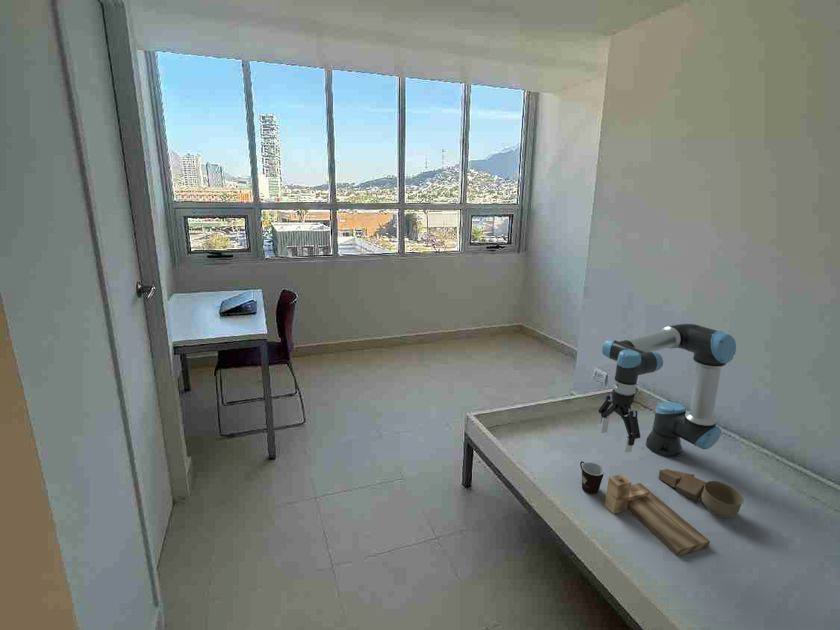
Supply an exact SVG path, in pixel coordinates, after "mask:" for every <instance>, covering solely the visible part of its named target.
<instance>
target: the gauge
mask: <svg viewBox="0 0 840 630" xmlns="http://www.w3.org/2000/svg"><path fill="white" fill-rule="evenodd" d="M631 485H632V481H630V480H629V479H628V478H627V477H626V476H625V475H623V474H622V473H621V474H616V475H612V476H609V477H608V482H607V488H606V494H605V501H604V506H605V508H607V509H608V510H609V511H610V512H611V513H612V514H620V513H623V512H626V511H628V510H627V505H628V501H629V500H633V499H637V498H641V497H645V496H649V492H648V491H647V490H646V489H644V490H640V491H636V492H632V493H630V488H631Z"/></svg>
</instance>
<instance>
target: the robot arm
mask: <svg viewBox="0 0 840 630" xmlns="http://www.w3.org/2000/svg"><path fill="white" fill-rule="evenodd" d="M665 349H670V350H671V349H681V350H684V351H687V352H690V353H692V354H693V357H692V360H693V361H694V362H695V364H696V365H695V372H694V373H695V374H694V380H693V385H692V392H691V398H690V399H691V400H690V408H689V410H687V407H686V406H685V405H684V404H681V403H679V402H673V401H662V402H659V403H658V404H657V406H656V408H655V413H654V418H653V419H654V420H653V425H652V429H651V431H650V432H649V434H648V436H647V437H646V440H645V445H646V447H647V448H648V449H649V450H650V451H651V452H652V453H655V454H657V455H660V456H662V457H666V458H676V457H679V456H681V455H682V451H683V447H682V442H681V441H682V440H681V439H683V440H685V441H686V442H688V443H690V444H692V445H693V446H695V447H698V448H700V449H702V450H708V449H711V448H712V447H713V446H714V445H716V444H717V442H718V441H719V439H720V437H721V435H722V429H721V428H720V426H717V419H716V417H715V416H714V411H715V405H716V400H717V394H718V388H719V384H720V383H719V382H720V375H721V370H722V368H724V367H725V366H726V365H727V364H729V363H730V362H731V361H732V360H733V359H734V356H735V355H736V352H737V344H736V339H735V338H734V337H733V336H732V335H731V334H729V333H726V332H723V331H721V330H716V329H712V328H709V327H705V326H701V325H698V324H695V323H681V324H679V323H678V324H673V325H668V326H665V327H663V328H661V330H658V331H654V332H651V333H647V334H643V335H639V336H635V337H631V338H629V339H625V340H624V339H623V340H621V341H619V340H616V339H610V338H609V339H606V341H604V342H603V344H602V346H601V354H602V355H603V356H605V357H606V358H608V359H609V360H612V361H615V362H616V368H615V375H614V379H613V380H614V381H613V386H612V387H613V389H612V392H611V395H607V396H606V397H605V400H604V402H603V403H602V405H601V406H600V407H599V409H598V410H597V411H598V413H599V414H600V417H601V419H600V424H601V425H600V433H601V434H603V433H608V429H609V423H610V415H612V414H613V413H616V414H617V415H618V416H620V417H621V420H623V424H624V427H625V430H626V433H627V434H628V435H626V439H625V443H624V449H623V452H624V453H631V452H632V450H633V446H634V445H635V441H636V440H637V439H641V437H642V436H641V431H640V425H639V421H638V411H637V410H633V409H632V405H633V404H634V401H635V393H636V389H637V383H638V377H639V376H641V375H645V374H649V373H655V372H657V371H660V370H661V369H662V367H663V366H664V358H663V357H662V355H661V354H660V353H659V352H657V351H661V350H665Z"/></svg>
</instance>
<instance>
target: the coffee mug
mask: <svg viewBox="0 0 840 630" xmlns="http://www.w3.org/2000/svg"><path fill="white" fill-rule="evenodd" d="M579 466H580V469H581V489H582V491H584V493H586V494H588V495H597V494H598V493H599V490H600V487H601V484H602V481H603V478H604V475H605V468H603V466H602V465H600V464H598V463H596V462H591V461H590V462H589V461H587V462H584V461H580V465H579Z"/></svg>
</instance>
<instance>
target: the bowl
mask: <svg viewBox="0 0 840 630" xmlns="http://www.w3.org/2000/svg"><path fill="white" fill-rule="evenodd" d="M705 482H706V483H705V484H704V490H703V492H702V496H701V501H702V502H703V505H704V506H705V507H706V508H707V509H708V510H709V512H710V513H712V514H713V515H715V516H718V517H725V518H727V517H728V518H729V517H734V516H736V515H738V513H739V512H740V509H741V506H742V505H743V504H744V497H743V495H742V494H741V493H740V492H739V491H738V490H737V489H736V488H734V487H733V486H730V485H729V484H726V483H724V482H721V481H716V480H709V481H705Z"/></svg>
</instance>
